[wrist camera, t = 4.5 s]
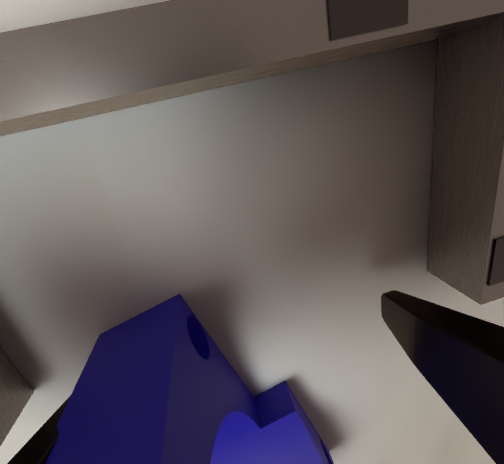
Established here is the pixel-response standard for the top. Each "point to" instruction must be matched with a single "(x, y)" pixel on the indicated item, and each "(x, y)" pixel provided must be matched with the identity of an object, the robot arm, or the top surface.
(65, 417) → the cable clip
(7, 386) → the rail bay
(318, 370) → the top surface
